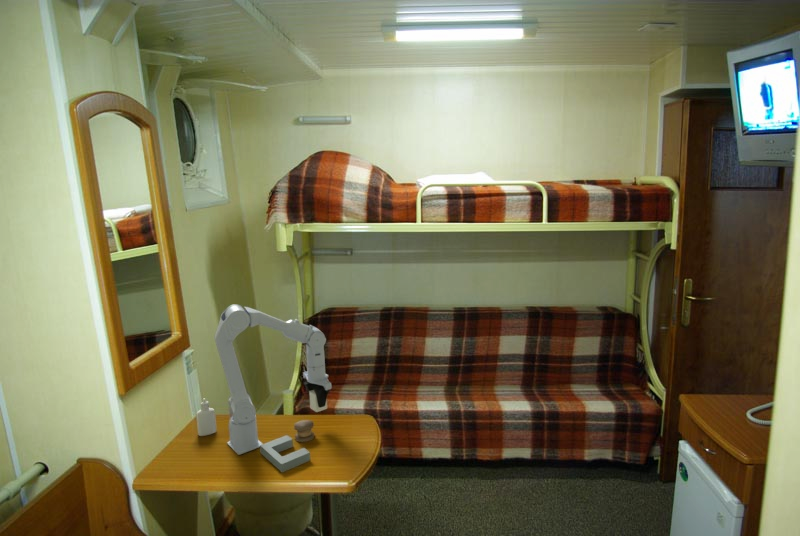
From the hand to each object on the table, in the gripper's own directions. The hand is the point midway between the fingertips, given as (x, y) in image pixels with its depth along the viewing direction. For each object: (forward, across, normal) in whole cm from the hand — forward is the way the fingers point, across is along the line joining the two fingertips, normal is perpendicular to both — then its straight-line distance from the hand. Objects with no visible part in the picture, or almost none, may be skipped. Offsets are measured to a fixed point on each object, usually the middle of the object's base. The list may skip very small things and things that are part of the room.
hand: (318, 404), depth 159 cm
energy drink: (+9, +16, +21) cm, 28 cm away
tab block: (+2, 0, 0) cm, 2 cm away
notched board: (+8, -8, +17) cm, 20 cm away
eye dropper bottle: (+9, +23, +29) cm, 38 cm away
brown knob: (+8, -2, +7) cm, 11 cm away
